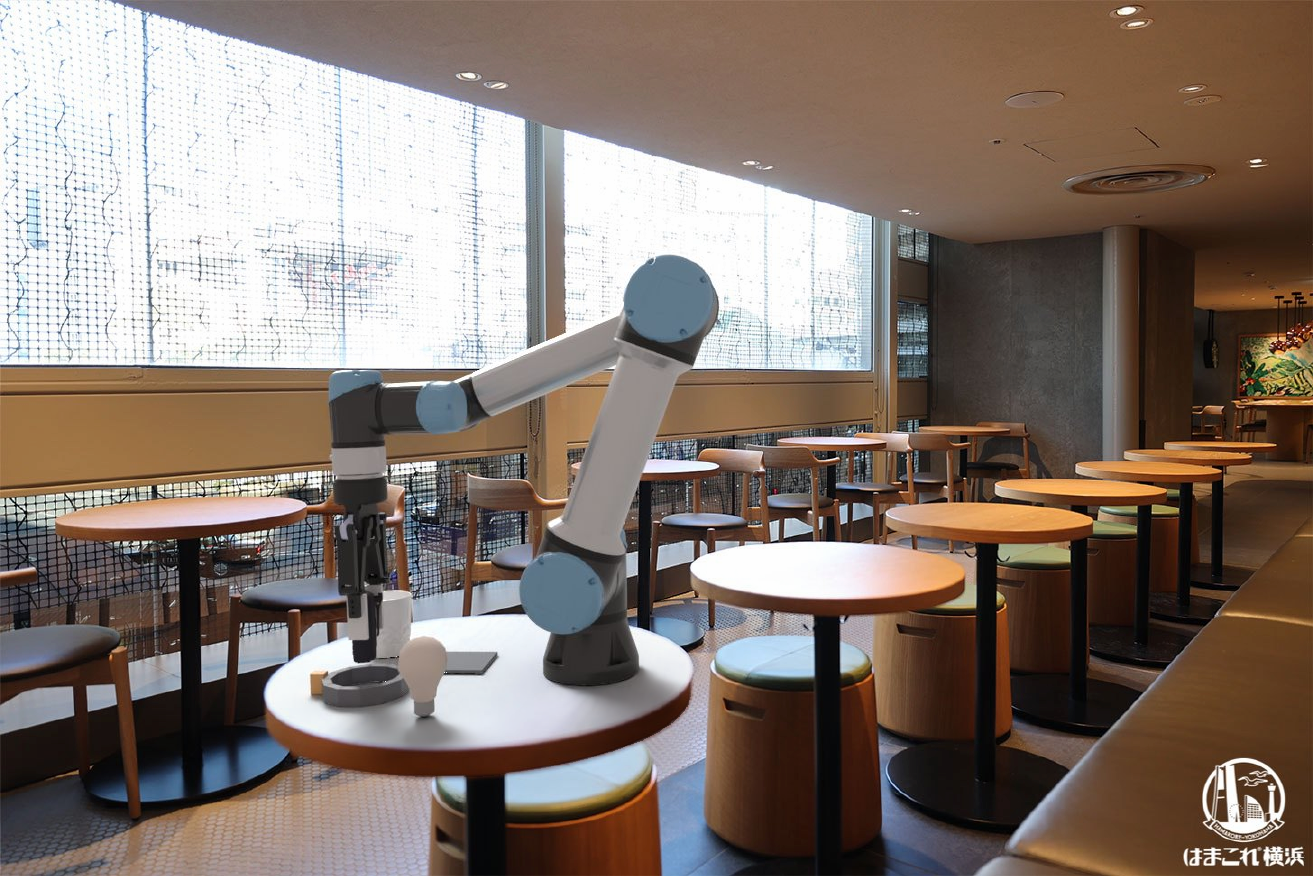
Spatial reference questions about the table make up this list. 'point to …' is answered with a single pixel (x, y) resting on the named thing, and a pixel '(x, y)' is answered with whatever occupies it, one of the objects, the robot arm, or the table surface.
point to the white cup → (394, 623)
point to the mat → (469, 662)
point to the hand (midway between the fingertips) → (366, 633)
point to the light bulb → (423, 671)
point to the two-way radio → (367, 648)
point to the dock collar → (344, 696)
